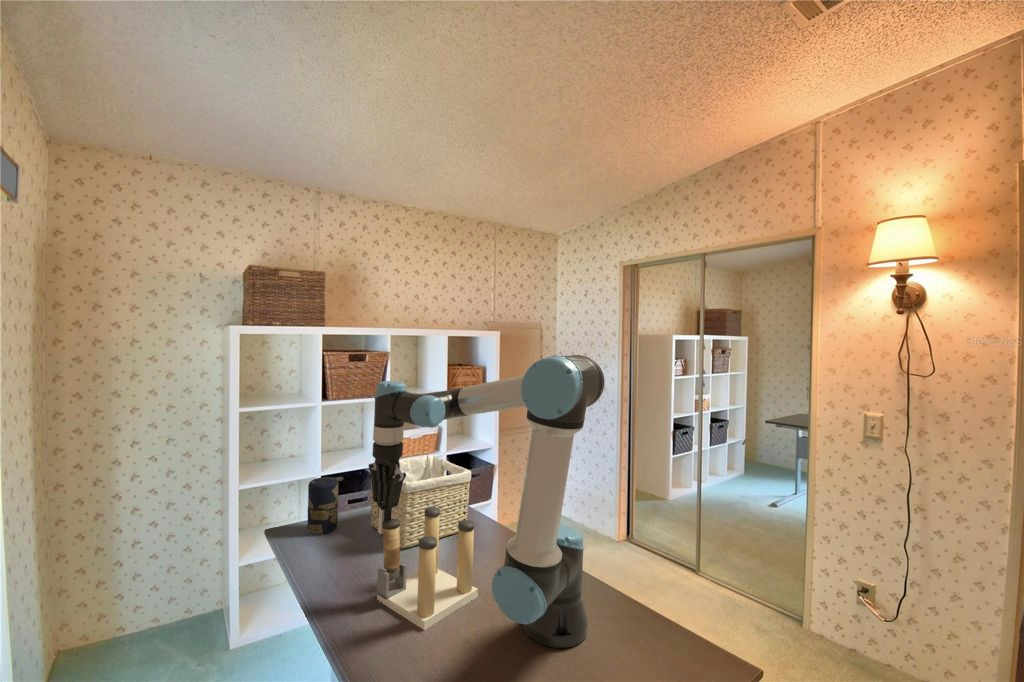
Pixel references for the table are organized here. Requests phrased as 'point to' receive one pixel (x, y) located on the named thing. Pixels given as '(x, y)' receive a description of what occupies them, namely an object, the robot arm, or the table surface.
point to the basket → (428, 497)
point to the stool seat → (431, 578)
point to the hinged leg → (392, 548)
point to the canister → (322, 505)
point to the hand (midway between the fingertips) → (383, 531)
